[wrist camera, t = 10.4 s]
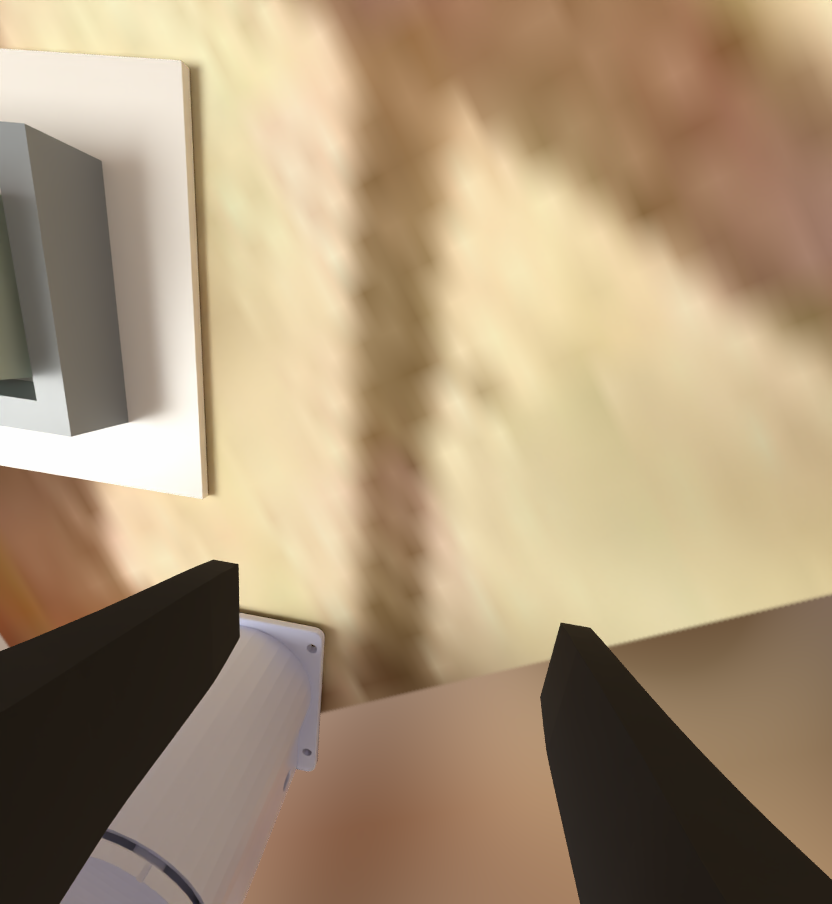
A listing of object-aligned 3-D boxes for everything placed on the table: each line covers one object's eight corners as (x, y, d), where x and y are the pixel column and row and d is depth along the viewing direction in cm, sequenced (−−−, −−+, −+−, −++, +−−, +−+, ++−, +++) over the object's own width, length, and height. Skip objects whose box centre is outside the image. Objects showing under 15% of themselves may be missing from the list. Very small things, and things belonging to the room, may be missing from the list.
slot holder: (208, 495, 18) (159, 525, 15) (-59, 451, 19) (-151, 471, 16) (189, 68, 13) (113, -6, 10) (-162, 44, 15) (-315, -27, 12)
